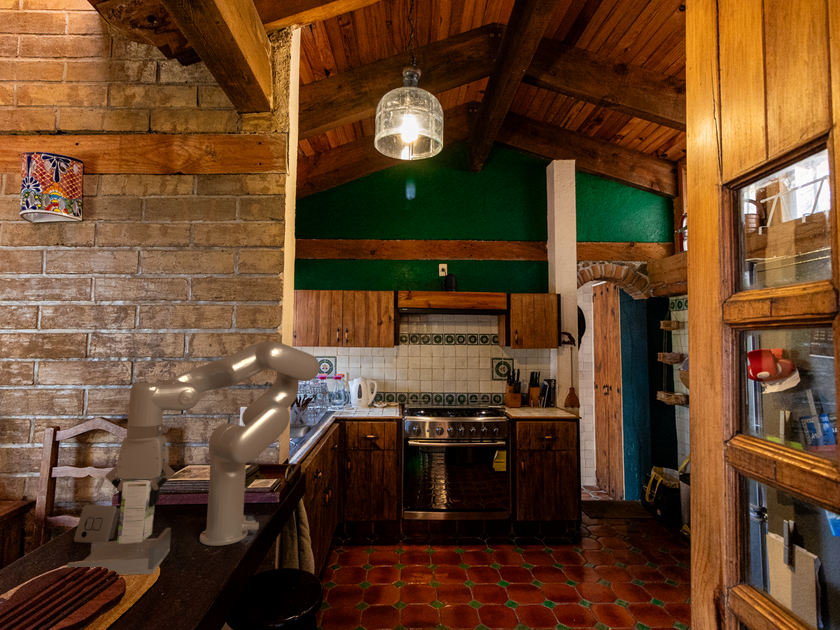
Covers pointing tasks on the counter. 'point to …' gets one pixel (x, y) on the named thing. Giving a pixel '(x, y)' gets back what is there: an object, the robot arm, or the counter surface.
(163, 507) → the counter surface
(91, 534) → the electrical switch
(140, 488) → the syrup box
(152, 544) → the grey u-shaped piece
